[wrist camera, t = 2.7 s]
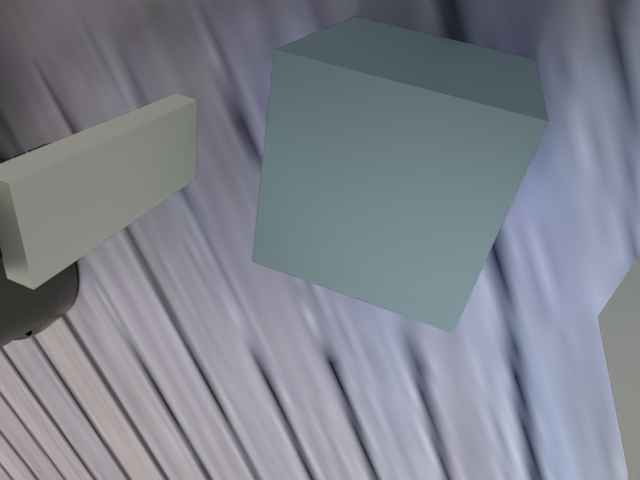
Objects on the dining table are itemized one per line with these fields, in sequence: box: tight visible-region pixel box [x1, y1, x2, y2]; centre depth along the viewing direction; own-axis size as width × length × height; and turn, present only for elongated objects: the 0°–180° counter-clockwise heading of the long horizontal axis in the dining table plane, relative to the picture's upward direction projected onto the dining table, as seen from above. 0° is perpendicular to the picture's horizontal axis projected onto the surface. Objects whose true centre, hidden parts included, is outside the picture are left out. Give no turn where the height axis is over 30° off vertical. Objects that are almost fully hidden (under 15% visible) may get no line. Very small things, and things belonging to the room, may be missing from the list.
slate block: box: [252, 17, 548, 333], centre depth 17 cm, size 7×7×8 cm
